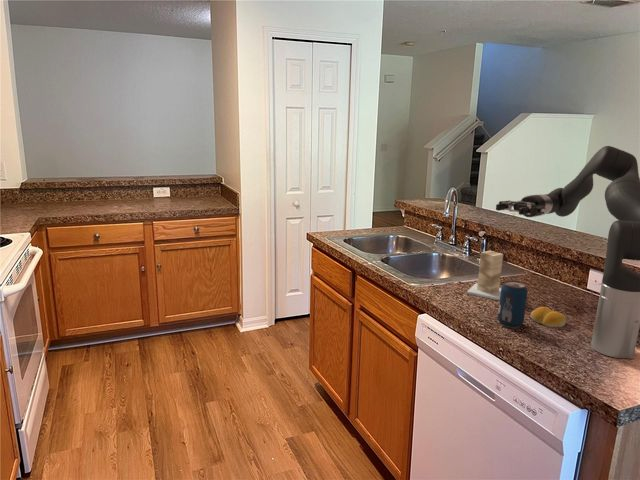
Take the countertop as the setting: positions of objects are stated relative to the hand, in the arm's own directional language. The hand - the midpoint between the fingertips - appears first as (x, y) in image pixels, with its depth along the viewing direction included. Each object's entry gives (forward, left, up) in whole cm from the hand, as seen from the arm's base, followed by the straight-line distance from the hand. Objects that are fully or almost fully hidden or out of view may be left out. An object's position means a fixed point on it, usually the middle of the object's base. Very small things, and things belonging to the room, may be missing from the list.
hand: (508, 209), depth 157 cm
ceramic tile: (+2, +6, -28) cm, 29 cm away
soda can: (-10, +29, -28) cm, 41 cm away
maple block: (+2, +6, -27) cm, 28 cm away
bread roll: (-18, +20, -28) cm, 39 cm away
